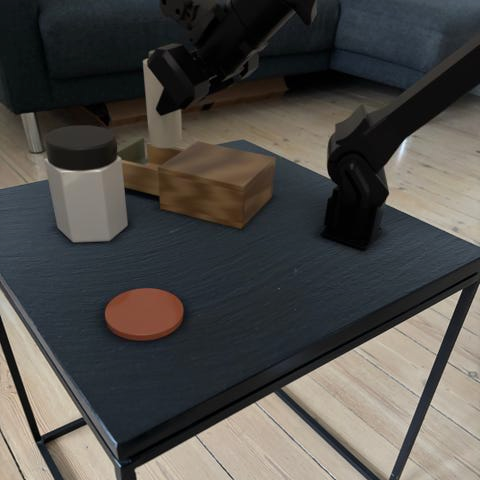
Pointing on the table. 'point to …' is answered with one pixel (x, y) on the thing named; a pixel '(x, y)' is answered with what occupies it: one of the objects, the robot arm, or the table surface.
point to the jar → (86, 183)
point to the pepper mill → (160, 127)
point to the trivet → (144, 314)
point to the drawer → (143, 164)
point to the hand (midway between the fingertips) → (168, 107)
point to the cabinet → (216, 183)
